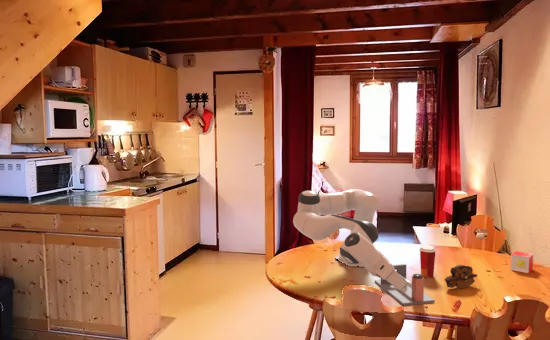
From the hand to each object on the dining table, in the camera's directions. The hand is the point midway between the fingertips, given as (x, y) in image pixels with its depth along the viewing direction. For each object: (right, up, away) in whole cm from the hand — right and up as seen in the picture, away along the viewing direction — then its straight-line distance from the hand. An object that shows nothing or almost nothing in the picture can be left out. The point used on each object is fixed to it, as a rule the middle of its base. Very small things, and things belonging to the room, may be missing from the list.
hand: (399, 286), depth 180 cm
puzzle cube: (+73, -3, +42) cm, 84 cm away
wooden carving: (+33, -6, +19) cm, 38 cm away
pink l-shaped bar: (+6, -5, +10) cm, 13 cm away
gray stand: (+5, -6, +15) cm, 17 cm away
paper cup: (+23, -4, +35) cm, 42 cm away
